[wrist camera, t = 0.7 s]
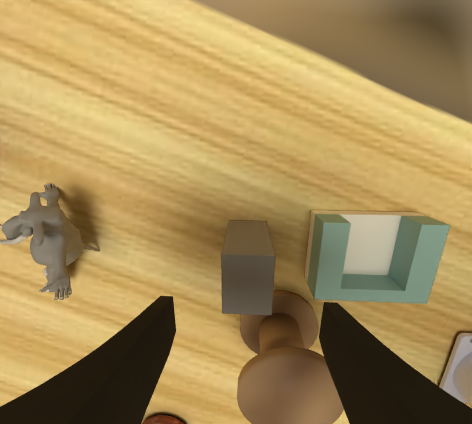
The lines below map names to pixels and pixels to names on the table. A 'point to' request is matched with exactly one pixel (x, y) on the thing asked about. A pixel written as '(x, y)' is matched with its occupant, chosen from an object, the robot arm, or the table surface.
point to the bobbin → (286, 367)
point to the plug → (247, 268)
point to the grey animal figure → (48, 239)
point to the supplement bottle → (162, 420)
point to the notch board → (373, 255)
